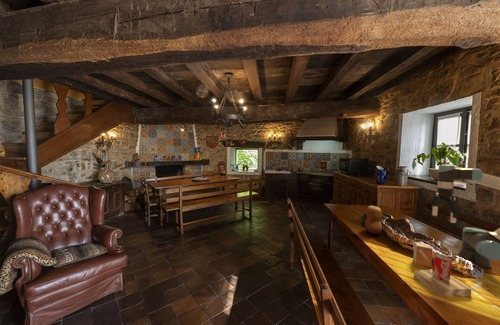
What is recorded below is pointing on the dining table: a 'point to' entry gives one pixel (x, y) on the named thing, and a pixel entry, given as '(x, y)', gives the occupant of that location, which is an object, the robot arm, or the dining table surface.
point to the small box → (422, 254)
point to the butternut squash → (373, 219)
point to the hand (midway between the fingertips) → (443, 218)
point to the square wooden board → (442, 284)
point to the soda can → (441, 268)
